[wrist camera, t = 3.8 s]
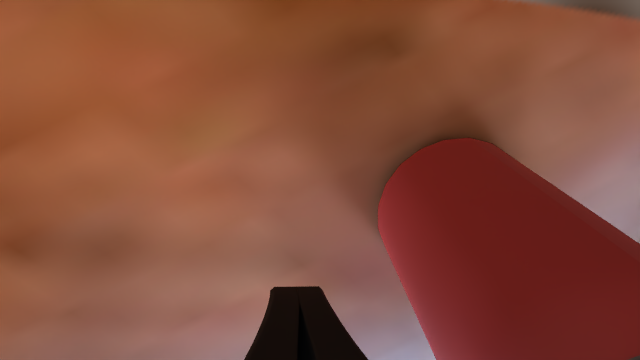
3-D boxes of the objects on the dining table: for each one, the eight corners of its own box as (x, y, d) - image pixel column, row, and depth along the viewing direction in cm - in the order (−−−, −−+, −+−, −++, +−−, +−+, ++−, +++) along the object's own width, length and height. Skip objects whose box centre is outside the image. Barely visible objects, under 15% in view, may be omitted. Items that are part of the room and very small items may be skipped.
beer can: (486, 103, 18) (812, 271, 7) (536, 222, 21) (834, 480, 10) (347, 183, 19) (453, 444, 8) (412, 288, 22) (559, 597, 11)
